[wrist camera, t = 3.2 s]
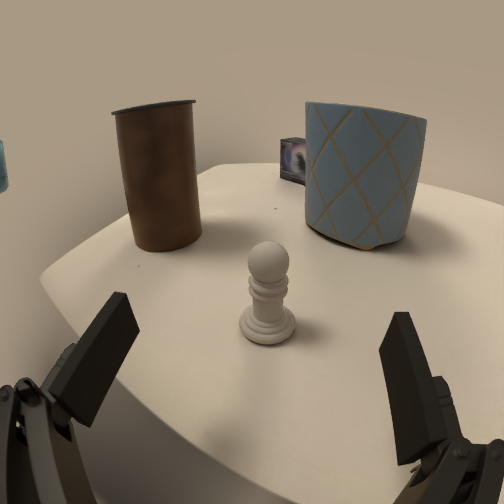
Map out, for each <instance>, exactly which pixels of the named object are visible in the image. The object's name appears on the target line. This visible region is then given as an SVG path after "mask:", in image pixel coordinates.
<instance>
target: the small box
mask: <svg viewBox="0 0 504 504" xmlns="http://www.w3.org/2000/svg"><path fill="white" fill-rule="evenodd" d="M280 141H281V151H280V154H281V156H280V157H281V158H280V159H281V160H280V178H283V179H287V180H290V181H293V182H297V183H300V184H303V185H305V182H306V139H303V138H297V137H295V138H287V139H281V140H280Z"/></svg>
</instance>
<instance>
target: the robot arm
mask: <svg viewBox="0 0 504 504" xmlns="http://www.w3.org/2000/svg"><path fill="white" fill-rule="evenodd" d="M7 188H8V176H7V169H6V162H5V155H4V148H3V142H2V140H0V193H2V192H4V191H5V190H6V189H7ZM139 332H140V330H139V327H138V324H137V322H136V319H135V317H134V314H133V311H132V308H131V306H130V303H129V300H128V297H127V294H126V293H121V292H114V293H113V294H112V295H111V297H110V298H109V299H108V301H107V302H106V303H105V305H104V306H103V307H102V309H101V310H100V312H99V313H98V314H97V316H96V317H95V318H94V320H93V321H92V323H91V324H90V325H89V327H88V328H87V330H86V331H85V333H84V334H83V335H82V337H81V338H80V340H79V341H78V343H77V344H74V343H72V344H71V345H70V346H68V347H67V348H66V349H65V350H64V352H63V353H62V354H61V356H60V359H58V361H57V362H56V365H54V367H53V368H52V370H51V371H50V373H49V374H48V376H47V378H46V379H45V381H44V382H43V384H42V386H41V387H40V388H38V387H37V385H36V384H35V383H34V382H33V381H32V380H31V379H30V378H22V379H20V380H19V381H18V382H17V383H16V385H15V386H14V389H13V388H12V387H11V386H10V385H4V386H3V387H1V388H0V504H97V502H96V500H95V497H94V495H93V492H92V490H91V487H90V484H89V481H88V478H87V475H86V472H85V469H84V466H83V463H82V459H81V456H80V453H79V449H78V445H77V441H76V437H75V433H74V429H73V424H72V422H71V420H70V419H71V417H73V418H74V419H75V420H76V421H77V422H79V423H81V424H83V425H85V426H87V427H89V428H90V427H91V425H92V423H93V421H94V418H95V416H96V414H97V412H98V410H99V408H100V406H101V404H102V402H103V400H104V398H105V395H106V394H107V392H108V390H109V388H110V386H111V384H112V382H113V380H114V378H115V376H116V374H117V372H118V370H119V369H120V367H121V365H122V363H123V361H124V359H125V357H126V355H127V354H128V352H129V350H130V348H131V346H132V344H133V343H134V341H135V339H136V337H137V335H138V334H139ZM379 354H380V358H381V363H382V367H383V372H384V377H385V382H386V387H387V392H388V398H389V403H390V409H391V415H392V422H393V429H394V436H395V444H396V453H397V462H398V466H401V465H406V464H410V463H414V462H416V461H417V460H419V459H420V460H421V464H419V465H418V466H416V467H414V468H413V469H412V470H411V471H410V472H411V473H412V472H414V471H415V473H414V474H413V476H412V477H411V479H410V480H409V482H408V483H407V485H406V486H405V488H404V489H403V491H402V492H401V493H400V495H399V496H398V497H397V499H396V500H395V502H394V503H393V504H497V503H498V500H499V496H500V492H501V487H502V483H503V478H504V441H503V440H501V439H495V440H493V441H492V442H491V443H489V444H472V443H471V442H470V441H469V440H468V439H467V438H464V437H463V435H462V433H461V429H460V425H459V421H458V417H457V413H456V410H455V406H454V405H453V399H452V397H451V393H450V390H449V386H448V384H447V383H446V381H445V380H444V379H443V377H442V376H436V377H432V375H431V372H430V369H429V366H428V363H427V360H426V357H425V354H424V351H423V348H422V345H421V343H420V340H419V337H418V335H417V332H416V329H415V327H414V324H413V322H412V319H411V317H410V314H409V312H395V313H394V315H393V318H392V320H391V323H390V325H389V328H388V330H387V332H386V335H385V337H384V339H383V342H382V344H381V346H380V348H379ZM16 422H19V423H20V426H19V427H17V426H16Z"/></svg>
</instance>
